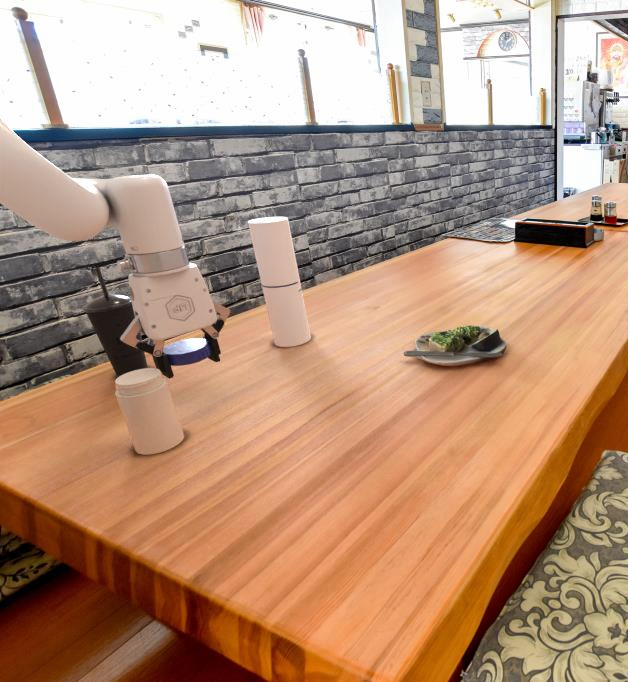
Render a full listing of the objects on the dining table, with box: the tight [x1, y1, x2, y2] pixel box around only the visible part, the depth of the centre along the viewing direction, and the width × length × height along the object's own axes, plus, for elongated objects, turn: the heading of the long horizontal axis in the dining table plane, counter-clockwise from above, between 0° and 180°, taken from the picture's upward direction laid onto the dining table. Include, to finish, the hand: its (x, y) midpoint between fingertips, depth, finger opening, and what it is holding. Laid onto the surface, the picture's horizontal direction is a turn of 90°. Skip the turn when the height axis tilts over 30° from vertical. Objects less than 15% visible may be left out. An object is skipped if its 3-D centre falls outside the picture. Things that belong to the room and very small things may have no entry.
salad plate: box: [403, 324, 507, 368], centre depth 101 cm, size 19×18×5 cm
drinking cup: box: [81, 266, 149, 378], centre depth 94 cm, size 8×8×20 cm
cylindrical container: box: [247, 216, 312, 348], centre depth 106 cm, size 7×7×25 cm
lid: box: [163, 337, 211, 367], centre depth 86 cm, size 7×7×2 cm
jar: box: [114, 367, 185, 456], centre depth 74 cm, size 6×6×11 cm
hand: (191, 366), depth 87 cm, fingers closed on lid, 6 cm apart
